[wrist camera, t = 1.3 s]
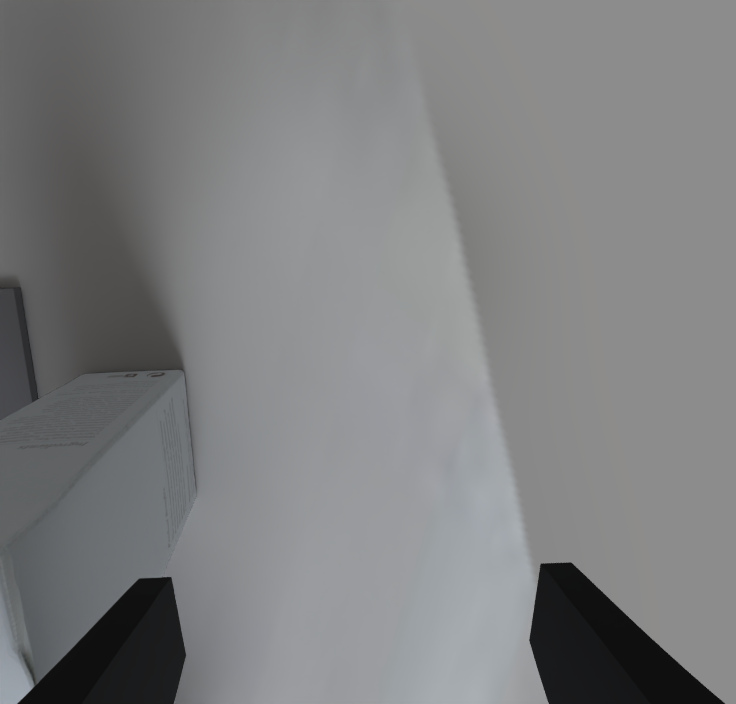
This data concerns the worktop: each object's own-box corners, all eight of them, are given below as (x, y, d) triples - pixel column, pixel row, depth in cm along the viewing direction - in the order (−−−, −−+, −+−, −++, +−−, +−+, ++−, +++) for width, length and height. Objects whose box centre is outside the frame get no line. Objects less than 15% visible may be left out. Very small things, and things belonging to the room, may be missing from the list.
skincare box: (78, 372, 19) (-329, 564, 7) (193, 366, 19) (-3, 537, 7) (100, 510, 20) (-215, 876, 8) (207, 501, 20) (59, 835, 9)
